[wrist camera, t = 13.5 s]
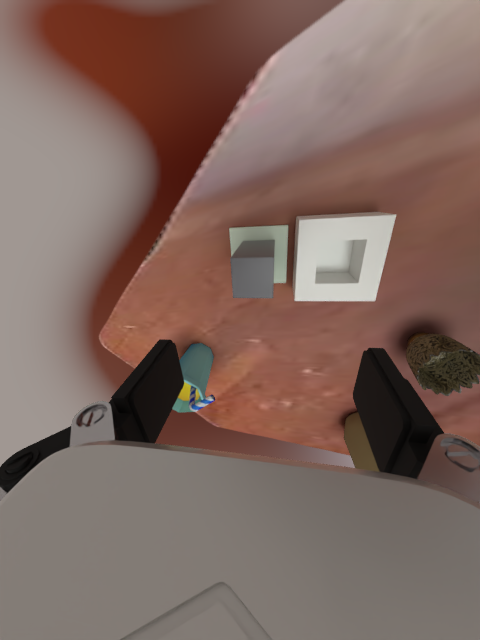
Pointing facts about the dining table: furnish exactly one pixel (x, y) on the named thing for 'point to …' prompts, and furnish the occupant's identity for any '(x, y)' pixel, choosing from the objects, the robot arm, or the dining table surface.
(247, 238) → the mat
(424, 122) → the dining table surface
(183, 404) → the cup
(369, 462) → the squeeze bottle
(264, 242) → the plug
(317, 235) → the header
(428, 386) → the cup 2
